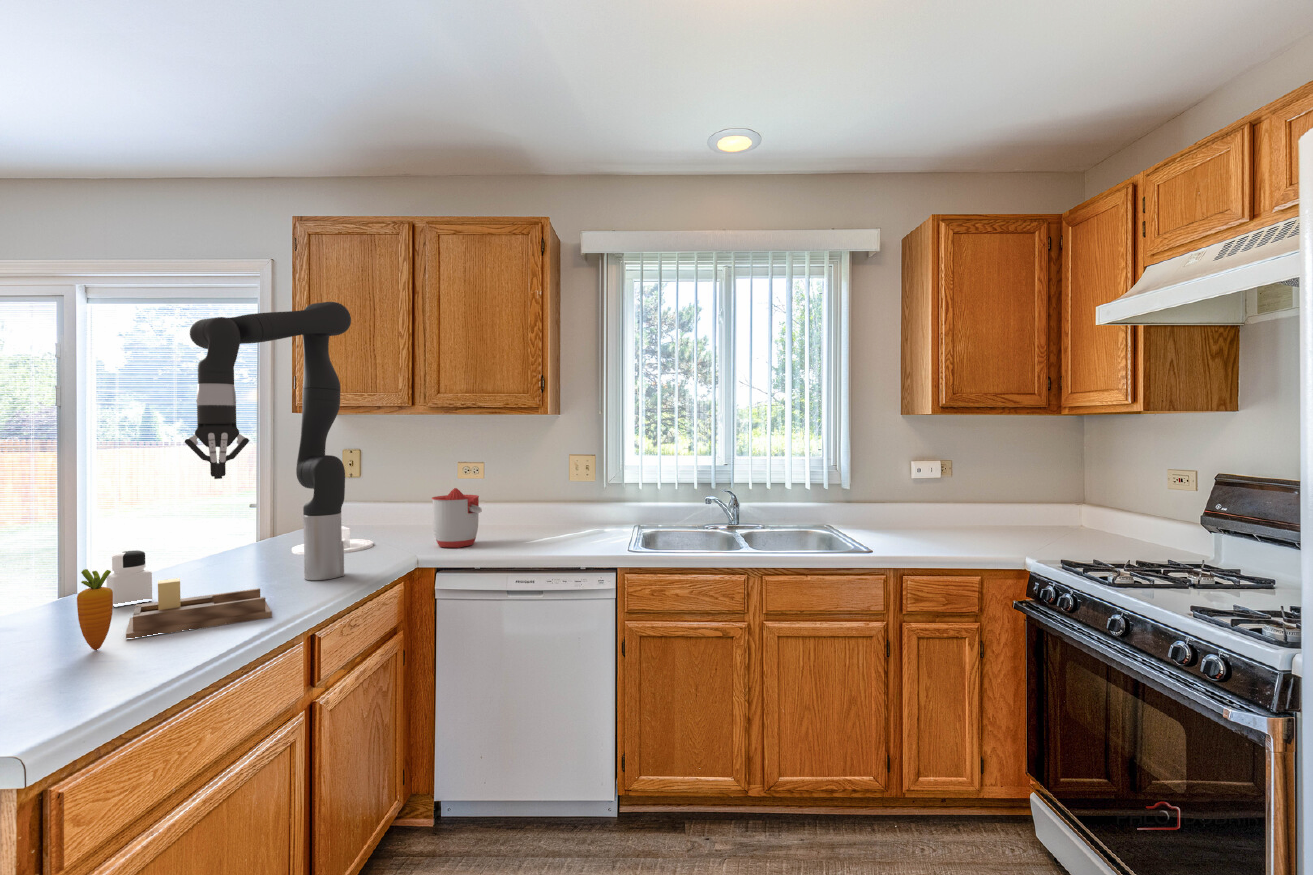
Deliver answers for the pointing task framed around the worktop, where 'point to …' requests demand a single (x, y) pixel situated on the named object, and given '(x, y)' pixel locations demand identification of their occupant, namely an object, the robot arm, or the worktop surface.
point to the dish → (349, 544)
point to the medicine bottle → (129, 577)
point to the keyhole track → (198, 613)
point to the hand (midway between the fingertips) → (218, 478)
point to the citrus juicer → (455, 519)
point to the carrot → (95, 608)
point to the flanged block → (169, 594)
